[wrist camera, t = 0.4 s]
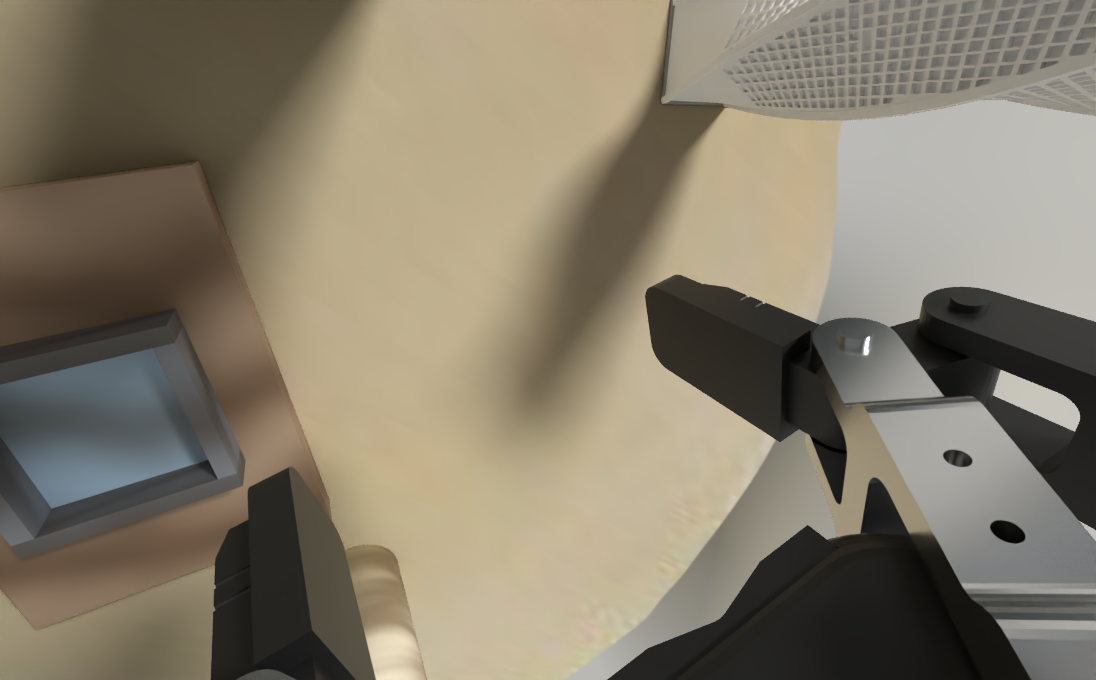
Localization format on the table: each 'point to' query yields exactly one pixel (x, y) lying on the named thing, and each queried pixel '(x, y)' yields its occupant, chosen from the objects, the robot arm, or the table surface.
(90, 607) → the base board
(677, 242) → the table surface
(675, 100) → the skyscraper
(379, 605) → the birch column
